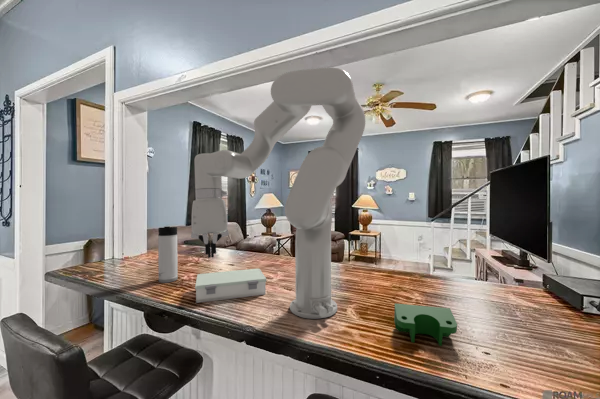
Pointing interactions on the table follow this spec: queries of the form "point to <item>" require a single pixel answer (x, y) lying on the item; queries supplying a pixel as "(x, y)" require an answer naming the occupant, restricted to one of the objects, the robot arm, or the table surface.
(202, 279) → the cover
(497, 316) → the table surface
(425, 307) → the clamp
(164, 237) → the travel mug
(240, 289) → the white latched case
